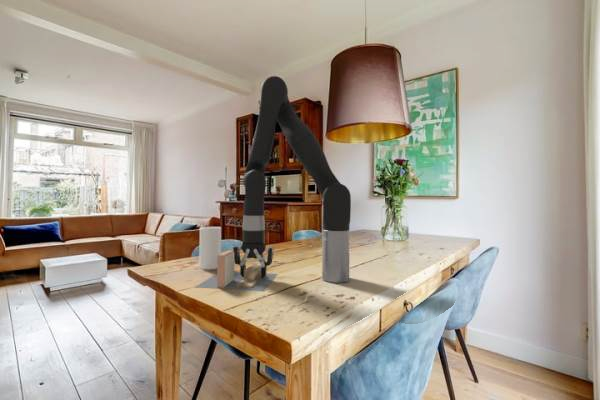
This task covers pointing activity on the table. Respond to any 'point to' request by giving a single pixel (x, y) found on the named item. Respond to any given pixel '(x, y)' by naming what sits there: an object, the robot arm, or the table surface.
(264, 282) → the mat
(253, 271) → the beige pillar on base
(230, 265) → the tile
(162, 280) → the table surface
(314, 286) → the table surface
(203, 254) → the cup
